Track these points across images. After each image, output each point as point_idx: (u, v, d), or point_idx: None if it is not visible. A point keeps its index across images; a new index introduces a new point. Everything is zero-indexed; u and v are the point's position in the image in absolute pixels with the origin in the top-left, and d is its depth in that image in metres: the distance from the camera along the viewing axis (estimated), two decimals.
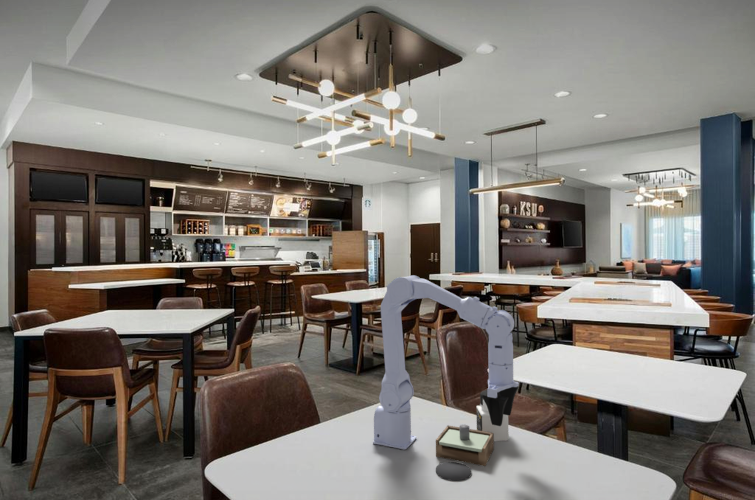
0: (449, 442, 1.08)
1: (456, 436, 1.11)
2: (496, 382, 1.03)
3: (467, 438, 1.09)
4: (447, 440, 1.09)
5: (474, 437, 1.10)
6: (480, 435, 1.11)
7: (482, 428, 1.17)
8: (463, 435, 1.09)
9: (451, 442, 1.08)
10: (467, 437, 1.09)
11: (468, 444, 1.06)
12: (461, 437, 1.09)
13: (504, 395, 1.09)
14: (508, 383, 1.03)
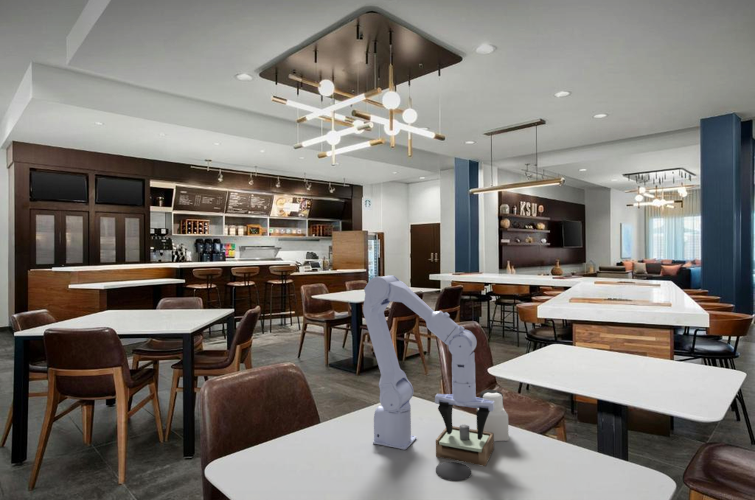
0: (449, 442, 1.08)
1: (456, 436, 1.11)
2: None
3: (467, 438, 1.09)
4: (447, 440, 1.09)
5: (474, 437, 1.10)
6: None
7: None
8: (463, 435, 1.09)
9: (451, 442, 1.08)
10: (467, 437, 1.09)
11: (468, 444, 1.06)
12: (461, 437, 1.09)
13: None
14: (454, 399, 1.09)
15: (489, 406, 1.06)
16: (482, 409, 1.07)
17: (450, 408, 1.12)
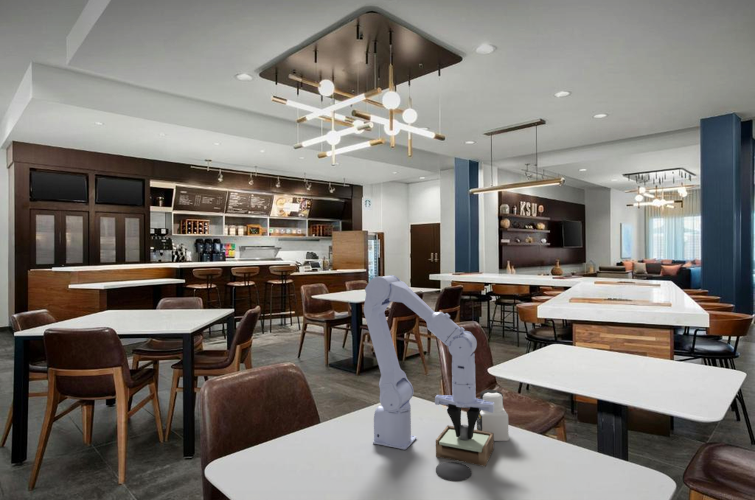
0: (449, 442, 1.08)
1: None
2: None
3: (467, 438, 1.09)
4: (447, 440, 1.09)
5: (474, 437, 1.10)
6: (480, 435, 1.11)
7: (482, 428, 1.17)
8: (463, 435, 1.09)
9: (451, 442, 1.08)
10: (467, 437, 1.09)
11: (468, 444, 1.06)
12: (461, 437, 1.09)
13: None
14: (454, 400, 1.09)
15: (489, 407, 1.06)
16: None
17: (459, 411, 1.11)
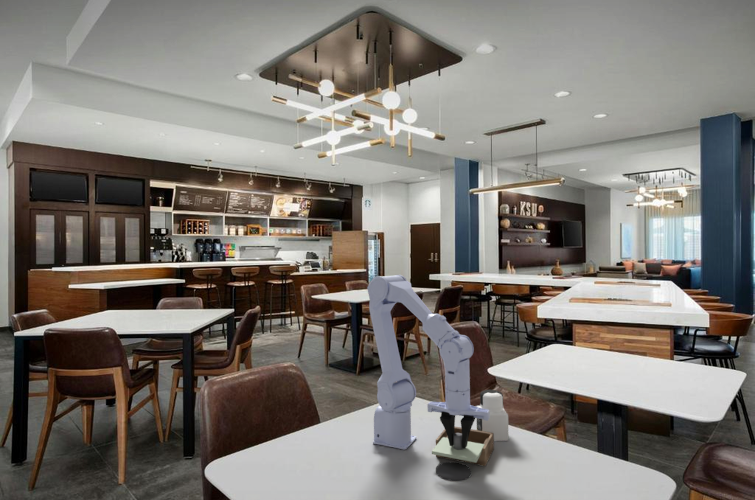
0: (442, 451, 1.03)
1: None
2: None
3: (461, 447, 1.04)
4: (440, 449, 1.04)
5: (468, 446, 1.05)
6: (475, 444, 1.06)
7: (482, 428, 1.17)
8: (457, 444, 1.04)
9: (444, 452, 1.03)
10: (461, 446, 1.04)
11: (462, 454, 1.01)
12: (455, 446, 1.04)
13: None
14: (447, 408, 1.03)
15: (484, 415, 1.01)
16: None
17: (452, 419, 1.06)
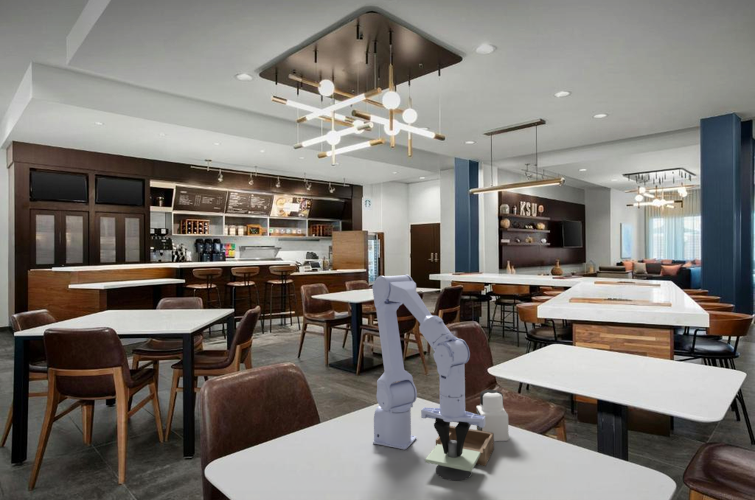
0: (436, 459, 0.99)
1: None
2: None
3: (456, 455, 1.00)
4: (434, 457, 1.00)
5: (464, 454, 1.01)
6: (470, 451, 1.03)
7: (482, 428, 1.17)
8: (452, 451, 1.00)
9: (438, 460, 0.99)
10: (456, 454, 1.00)
11: (457, 462, 0.97)
12: (449, 454, 1.00)
13: None
14: (442, 414, 1.00)
15: (479, 422, 0.97)
16: None
17: (447, 425, 1.02)
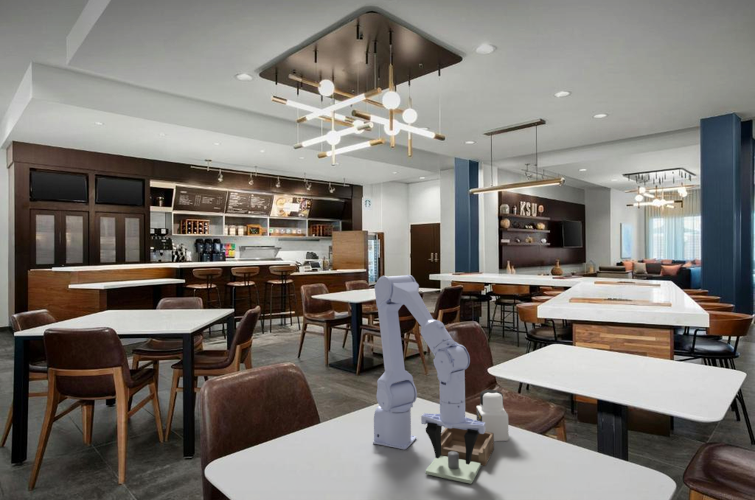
0: (436, 471, 0.99)
1: (445, 464, 1.02)
2: None
3: (456, 467, 1.00)
4: (435, 469, 1.00)
5: (464, 465, 1.01)
6: (470, 462, 1.03)
7: None
8: (452, 463, 1.00)
9: (438, 471, 0.99)
10: (456, 465, 1.00)
11: (457, 474, 0.97)
12: (450, 465, 1.00)
13: None
14: (442, 420, 1.00)
15: (479, 428, 0.97)
16: (472, 431, 0.98)
17: (438, 430, 1.03)
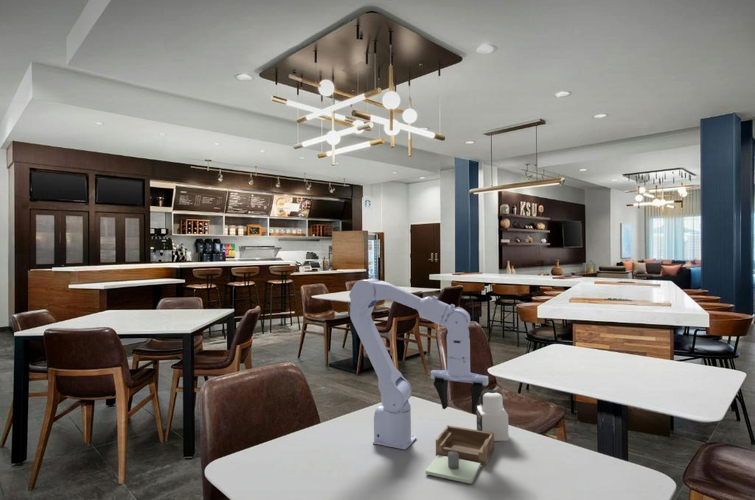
0: (436, 471, 0.99)
1: (445, 464, 1.02)
2: None
3: (456, 467, 1.00)
4: (435, 469, 1.00)
5: (464, 465, 1.01)
6: (470, 462, 1.03)
7: (482, 428, 1.17)
8: (452, 463, 1.00)
9: (438, 471, 0.99)
10: (456, 465, 1.00)
11: (457, 474, 0.97)
12: (450, 465, 1.00)
13: None
14: (449, 374, 1.11)
15: (483, 381, 1.09)
16: (476, 384, 1.10)
17: (445, 384, 1.14)
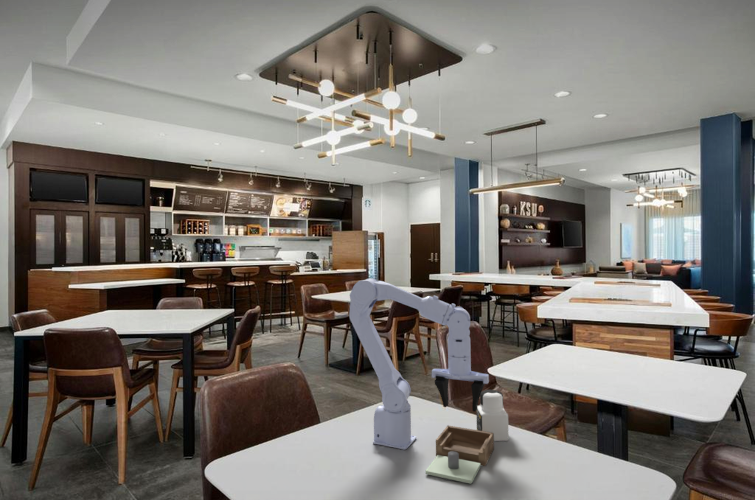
0: (436, 471, 0.99)
1: (445, 464, 1.02)
2: None
3: (456, 466, 1.00)
4: (435, 469, 1.00)
5: (464, 465, 1.01)
6: (470, 462, 1.03)
7: (482, 428, 1.17)
8: (452, 463, 1.00)
9: (438, 471, 0.99)
10: (456, 465, 1.00)
11: (457, 474, 0.97)
12: (450, 465, 1.00)
13: None
14: (450, 373, 1.13)
15: (483, 379, 1.10)
16: (477, 382, 1.11)
17: (446, 382, 1.16)
